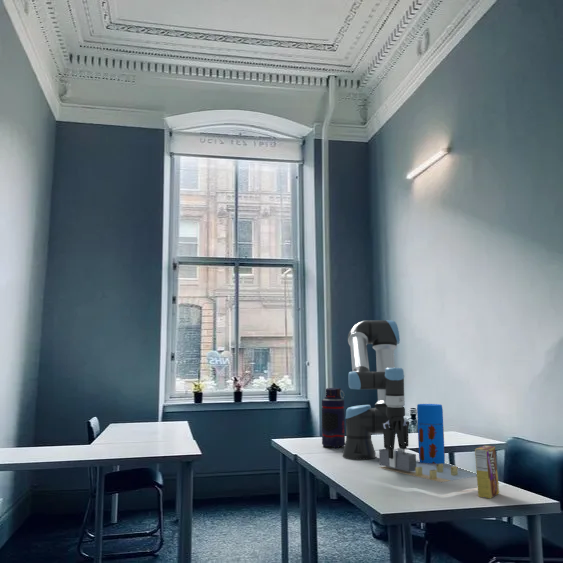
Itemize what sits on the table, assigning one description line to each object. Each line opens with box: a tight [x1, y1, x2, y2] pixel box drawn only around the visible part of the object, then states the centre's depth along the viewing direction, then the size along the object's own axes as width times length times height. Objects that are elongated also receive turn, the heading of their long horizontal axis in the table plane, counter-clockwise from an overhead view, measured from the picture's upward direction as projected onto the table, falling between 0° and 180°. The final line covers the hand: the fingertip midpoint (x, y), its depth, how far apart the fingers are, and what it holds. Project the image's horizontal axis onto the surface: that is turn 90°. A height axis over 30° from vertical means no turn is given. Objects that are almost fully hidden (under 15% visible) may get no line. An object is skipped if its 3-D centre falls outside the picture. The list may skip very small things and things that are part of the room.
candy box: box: [474, 445, 500, 499], centre depth 173 cm, size 9×4×15 cm, turn 140°
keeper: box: [415, 463, 459, 480], centre depth 198 cm, size 8×14×3 cm, turn 124°
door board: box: [378, 461, 477, 483], centre depth 205 cm, size 32×22×1 cm
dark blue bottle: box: [321, 387, 346, 449], centre depth 274 cm, size 14×12×30 cm
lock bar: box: [378, 448, 417, 472], centre depth 208 cm, size 16×4×6 cm, turn 34°
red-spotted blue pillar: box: [416, 403, 446, 465], centre depth 228 cm, size 11×11×25 cm
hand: (396, 465), depth 208 cm, fingers closed on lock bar, 4 cm apart
